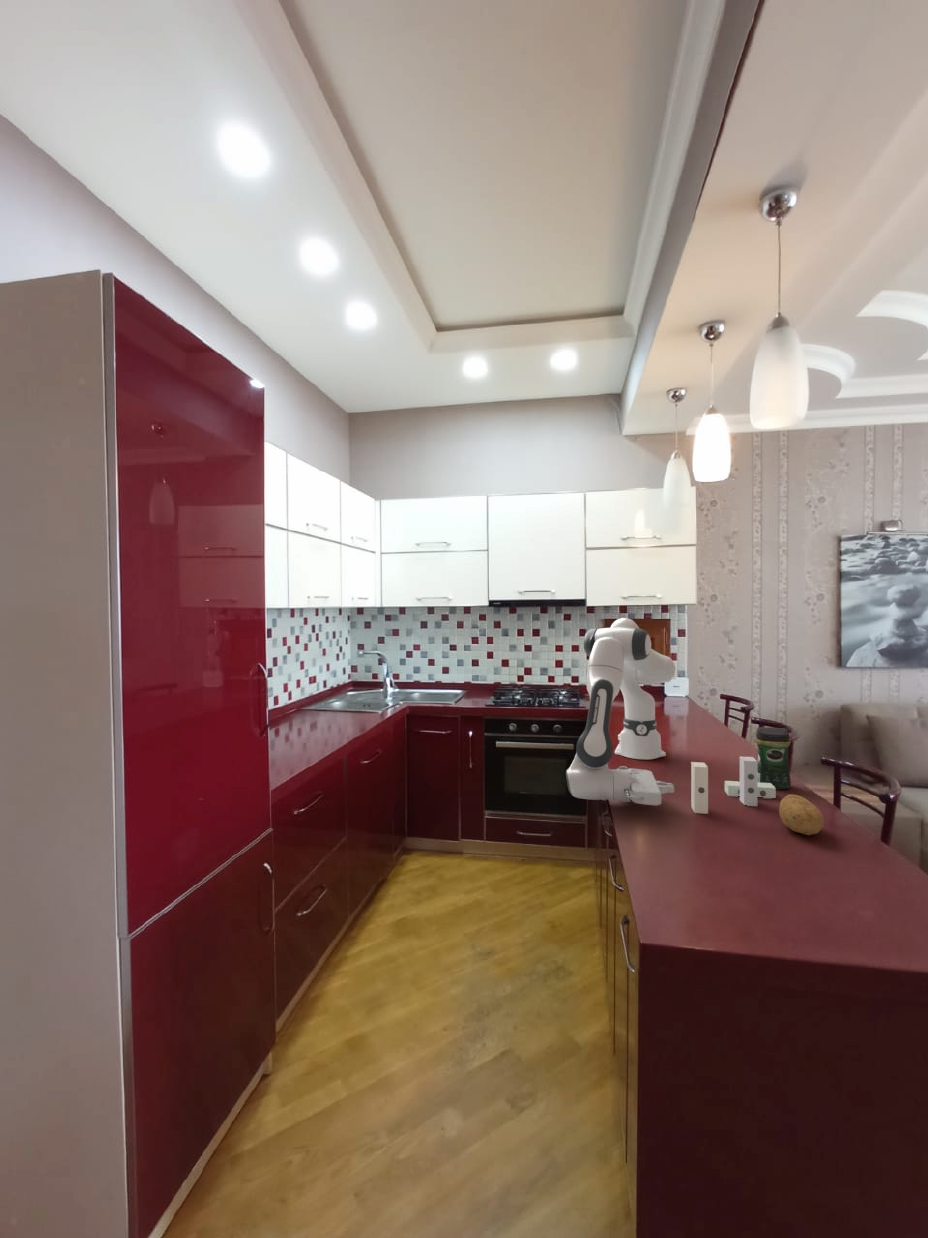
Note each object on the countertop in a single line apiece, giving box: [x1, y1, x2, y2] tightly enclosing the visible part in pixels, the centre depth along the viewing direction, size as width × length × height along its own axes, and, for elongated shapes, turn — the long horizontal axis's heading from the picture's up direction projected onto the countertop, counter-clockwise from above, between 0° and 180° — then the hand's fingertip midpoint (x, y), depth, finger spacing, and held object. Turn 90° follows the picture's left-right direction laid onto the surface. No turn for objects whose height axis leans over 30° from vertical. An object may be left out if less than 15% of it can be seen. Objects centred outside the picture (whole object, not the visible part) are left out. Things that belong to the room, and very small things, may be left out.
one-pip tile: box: [690, 761, 709, 815], centre depth 153 cm, size 5×4×13 cm
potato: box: [778, 794, 825, 837], centre depth 138 cm, size 10×14×8 cm
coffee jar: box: [755, 726, 792, 790], centre depth 172 cm, size 10×8×19 cm
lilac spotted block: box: [739, 756, 758, 807], centre depth 158 cm, size 5×4×13 cm
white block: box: [724, 780, 777, 799], centre depth 165 cm, size 5×4×13 cm
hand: (673, 788), depth 155 cm, fingers closed
